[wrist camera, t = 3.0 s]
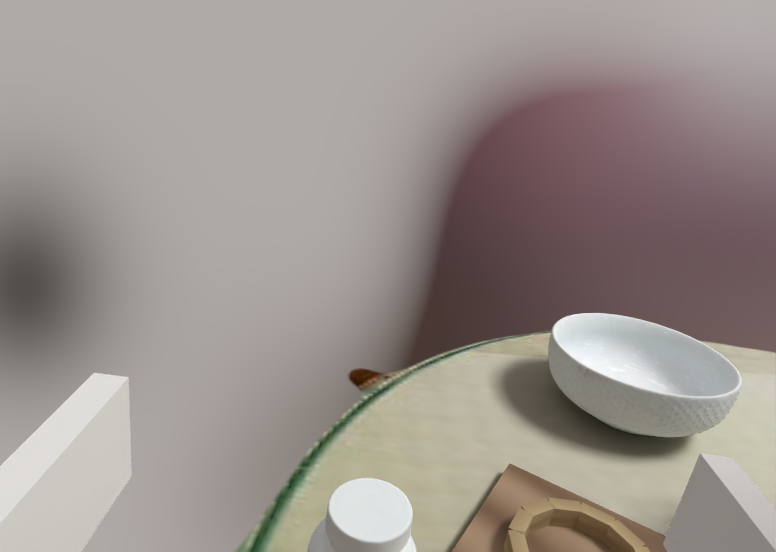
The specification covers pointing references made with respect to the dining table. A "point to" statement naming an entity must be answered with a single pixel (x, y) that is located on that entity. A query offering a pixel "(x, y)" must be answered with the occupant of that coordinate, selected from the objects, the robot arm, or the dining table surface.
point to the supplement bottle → (365, 519)
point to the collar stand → (550, 521)
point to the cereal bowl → (641, 375)
